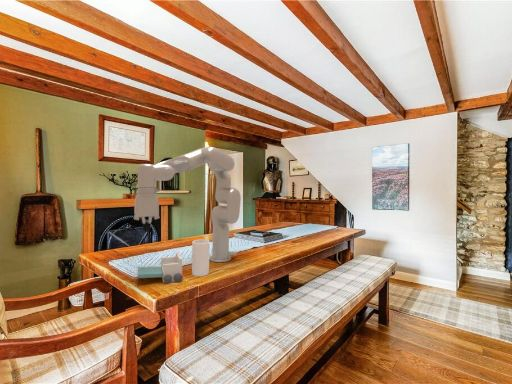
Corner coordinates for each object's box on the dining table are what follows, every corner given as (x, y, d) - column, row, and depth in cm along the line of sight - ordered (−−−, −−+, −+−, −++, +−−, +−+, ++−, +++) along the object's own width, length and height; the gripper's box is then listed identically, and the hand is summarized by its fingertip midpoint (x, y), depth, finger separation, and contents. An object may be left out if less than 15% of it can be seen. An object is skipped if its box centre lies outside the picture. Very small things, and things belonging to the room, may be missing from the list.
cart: (177, 271, 128) (177, 251, 128) (182, 281, 115) (182, 259, 115) (160, 273, 125) (161, 253, 125) (163, 284, 112) (163, 261, 112)
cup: (193, 270, 130) (193, 239, 130) (209, 270, 131) (210, 239, 130) (190, 276, 122) (191, 243, 121) (208, 276, 123) (208, 243, 122)
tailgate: (160, 266, 123) (137, 267, 119) (162, 273, 113) (138, 274, 109) (160, 269, 123) (137, 270, 119) (162, 277, 113) (137, 278, 109)
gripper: (163, 191, 121) (163, 229, 122) (128, 191, 115) (128, 231, 115) (165, 191, 114) (165, 232, 115) (128, 191, 108) (128, 234, 109)
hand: (146, 231), depth 115 cm, fingers closed
